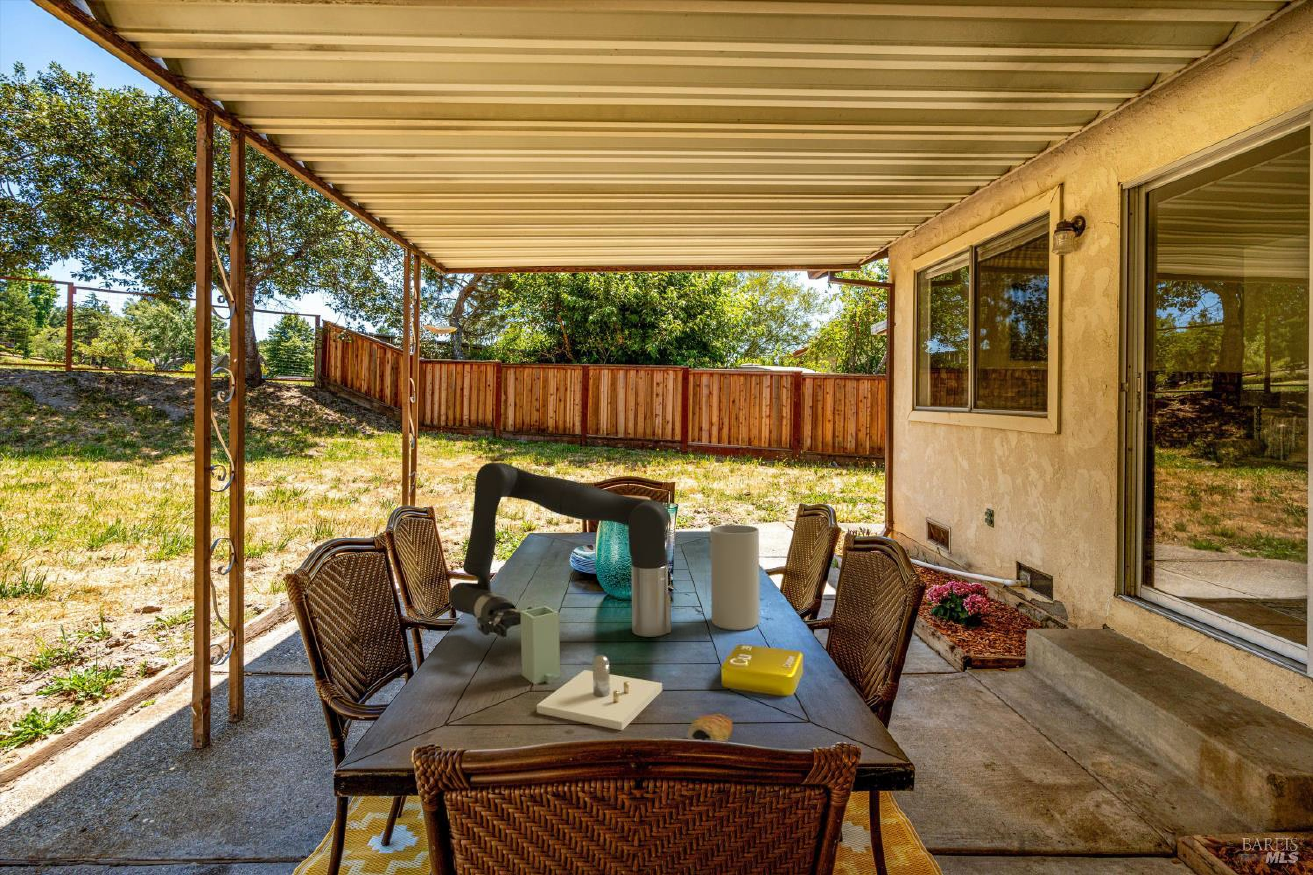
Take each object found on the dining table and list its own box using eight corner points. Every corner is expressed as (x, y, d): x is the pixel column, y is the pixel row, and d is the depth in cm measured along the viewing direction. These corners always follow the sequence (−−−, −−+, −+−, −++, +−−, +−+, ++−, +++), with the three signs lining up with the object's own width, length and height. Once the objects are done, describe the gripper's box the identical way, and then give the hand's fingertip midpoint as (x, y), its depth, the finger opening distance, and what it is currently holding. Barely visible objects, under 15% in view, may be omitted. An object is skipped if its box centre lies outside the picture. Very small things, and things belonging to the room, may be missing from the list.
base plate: (536, 712, 126) (535, 665, 126) (584, 676, 143) (583, 634, 142) (622, 730, 119) (621, 680, 119) (662, 690, 135) (661, 646, 135)
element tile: (792, 699, 132) (792, 675, 131) (719, 688, 137) (718, 665, 137) (804, 670, 146) (804, 648, 145) (737, 661, 151) (737, 641, 151)
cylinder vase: (705, 627, 173) (704, 532, 172) (719, 613, 185) (718, 523, 183) (752, 633, 168) (752, 535, 167) (764, 618, 180) (763, 526, 179)
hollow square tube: (522, 675, 144) (520, 611, 143) (547, 668, 148) (545, 605, 147) (537, 686, 138) (536, 619, 137) (563, 679, 141) (562, 614, 141)
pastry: (708, 721, 122) (708, 701, 122) (742, 730, 119) (742, 709, 119) (683, 743, 115) (683, 722, 114) (718, 754, 111) (718, 731, 111)
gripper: (465, 601, 159) (492, 618, 146) (521, 591, 167) (551, 606, 154) (466, 632, 159) (493, 652, 146) (522, 620, 167) (552, 638, 154)
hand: (523, 628), depth 150 cm, fingers open, 8 cm apart
